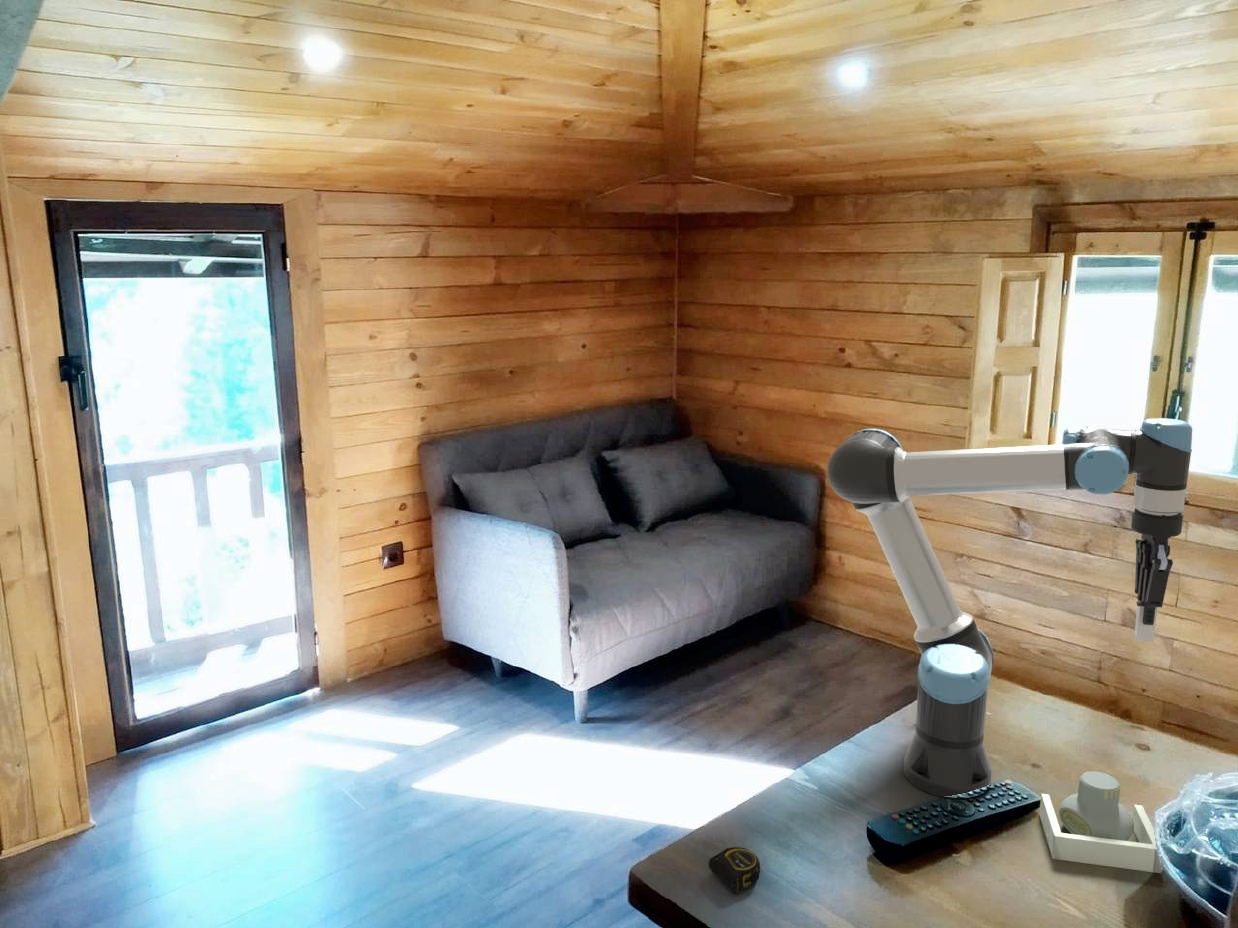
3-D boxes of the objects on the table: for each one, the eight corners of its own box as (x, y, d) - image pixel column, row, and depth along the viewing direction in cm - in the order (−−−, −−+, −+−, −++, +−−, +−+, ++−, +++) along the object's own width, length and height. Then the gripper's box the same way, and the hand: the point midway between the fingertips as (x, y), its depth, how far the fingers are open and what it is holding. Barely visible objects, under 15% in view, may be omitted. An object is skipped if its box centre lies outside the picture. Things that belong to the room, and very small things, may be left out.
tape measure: (706, 874, 146) (706, 853, 145) (743, 860, 149) (743, 839, 148) (731, 900, 140) (731, 878, 139) (769, 885, 143) (769, 864, 142)
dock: (1052, 858, 147) (1054, 836, 147) (1039, 814, 159) (1041, 793, 158) (1161, 873, 144) (1164, 850, 143) (1139, 826, 155) (1142, 805, 154)
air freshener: (1141, 848, 150) (1148, 792, 147) (1102, 860, 147) (1108, 803, 145) (1086, 811, 160) (1092, 758, 157) (1048, 822, 157) (1053, 768, 155)
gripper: (1195, 521, 152) (1178, 656, 158) (1171, 501, 165) (1156, 626, 170) (1144, 519, 154) (1129, 652, 160) (1124, 499, 167) (1111, 623, 172)
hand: (1143, 638), depth 165 cm, fingers closed
